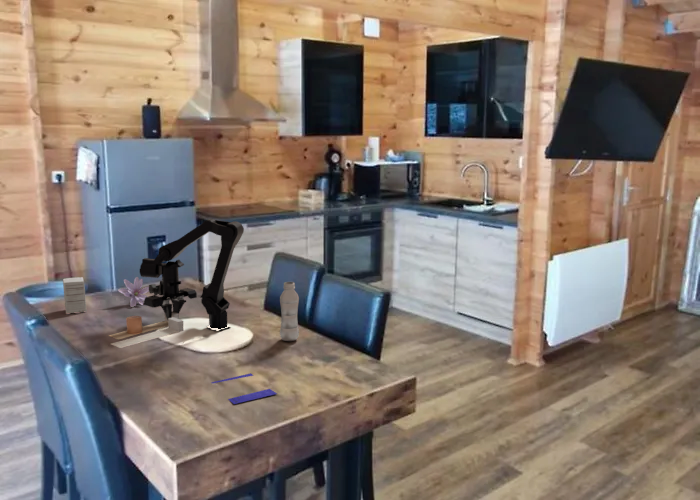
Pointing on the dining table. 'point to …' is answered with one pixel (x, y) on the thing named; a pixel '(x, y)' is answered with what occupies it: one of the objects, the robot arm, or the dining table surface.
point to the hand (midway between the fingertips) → (172, 320)
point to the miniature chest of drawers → (74, 294)
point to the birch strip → (146, 327)
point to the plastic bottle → (289, 313)
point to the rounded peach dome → (134, 324)
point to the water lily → (134, 291)
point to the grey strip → (153, 333)
